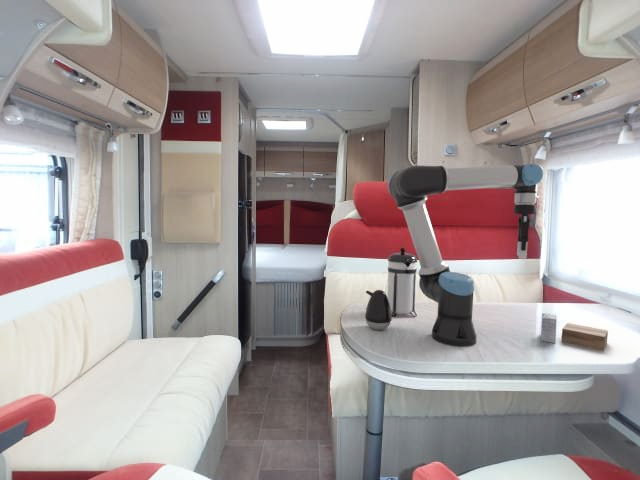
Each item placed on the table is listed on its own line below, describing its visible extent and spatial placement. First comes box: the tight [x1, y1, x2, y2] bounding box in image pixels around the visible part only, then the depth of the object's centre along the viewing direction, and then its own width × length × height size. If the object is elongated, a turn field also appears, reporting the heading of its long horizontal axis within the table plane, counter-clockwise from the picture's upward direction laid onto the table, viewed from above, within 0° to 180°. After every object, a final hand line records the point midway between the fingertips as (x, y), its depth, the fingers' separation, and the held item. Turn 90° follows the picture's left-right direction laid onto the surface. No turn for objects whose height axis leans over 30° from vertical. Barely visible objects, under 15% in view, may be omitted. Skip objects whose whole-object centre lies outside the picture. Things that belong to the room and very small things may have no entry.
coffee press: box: [387, 247, 418, 318], centre depth 160 cm, size 17×16×30 cm
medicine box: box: [540, 312, 557, 344], centre depth 130 cm, size 8×4×9 cm, turn 148°
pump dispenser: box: [364, 289, 393, 331], centre depth 139 cm, size 10×10×15 cm
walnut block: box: [561, 322, 609, 351], centre depth 127 cm, size 10×12×5 cm
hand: (521, 257), depth 143 cm, fingers open, 13 cm apart
